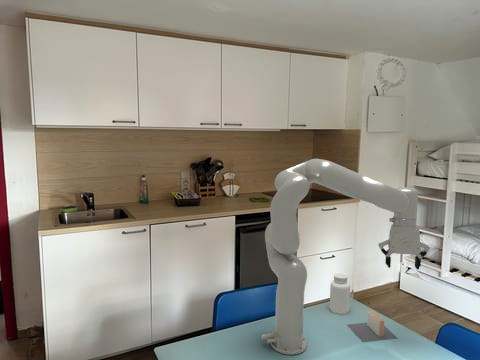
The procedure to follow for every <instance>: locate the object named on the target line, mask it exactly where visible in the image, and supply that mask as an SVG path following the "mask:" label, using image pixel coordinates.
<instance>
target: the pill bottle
mask: <svg viewBox="0 0 480 360" xmlns="http://www.w3.org/2000/svg"><path fill="white" fill-rule="evenodd" d="M333 276H334V277H333V280H332V281H331V282H330V285H329V287H330V288H329V289H330V291H329V310H330V311H331V312H333V313H334V314H338V315H346V314H348V313H349V312H350V304H351V303H350V302H351V285H350V282H348V275H347V274H344V273H335V274H334V275H333Z"/></svg>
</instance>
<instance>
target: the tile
mask: <svg viewBox="0 0 480 360" xmlns="http://www.w3.org/2000/svg"><path fill="white" fill-rule="evenodd" d="M366 323H367V326H369V327H370V328H371V329H372V330H373V331H374V332H375V333H376V334H377V335H378V336H379V337H383V334H384V326H385V320H384V319H383V318H382V317H381V316H379V315H378V313H376V312H375V311H374V310H368V311H367V322H366Z"/></svg>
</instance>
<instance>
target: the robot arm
mask: <svg viewBox="0 0 480 360" xmlns="http://www.w3.org/2000/svg"><path fill="white" fill-rule="evenodd" d="M313 183H314V184H317V185H320V186H322V187H325V188H327V189H330V190H332V191H335V192H337V193H340V194H342V195H345V196H347V197H350V198H352V199H356V200H358V201H362V202H366V203H369V204H372V205H374V206H376V207H377V208H380V209H382V210H385V211H389V212H391V213H393V216H392V217H389V220H388V221H389V223H390V222H391V225H390V230H389V235H388V239H386V240H384V241H381V242H379V243H378V244H377V245H378V247H379V249H380V252H381V253H382V254H383V255H385V265H386V266H387V268H388V269H391V266H392V265H391V264H392V263H391V262H392V257H391V256H392V254H398V255H415V257H414V268H415V269H416V270H418V271H419V270H420V267H421V266H422V265H421V264H422V259H423V257H425V256H426V255H427V254H428V252H429V251H430V249H431V247H430V246H429V245H427V244H426V243H424V242H422V241H421V236H420V235H421V234H420V232H421V231H420V226H418V225H417V220H418V219H417V217H418V198H419V197H418V196H419V191H418V190H417V188H415V187H410V186H409V187H408V186H401V187H397V188H396V187H393V186H390V185H387V184H386V183H382V182H380V181H378V180H375V179H373V178H370V177H368V176H366V175H363V174H361V173H358V172H356V171H354V170H351V169H349V168H347V167H345V166H342V165H339V164H338V163H335V162H333V161H330V160H326V159H323V158H322V159H321V158H313V159H309V160H306V161H304V162H302V163H299V164H297V165H293V166H291V167H288V168H287V169H284V170H282V171H280V172H279V173H278V174H277V176H276V177H275V179H274V187H275V189H276V190H277V191H276V193H275V194H274V195H273V198H272V200H271V202H270V208H269V209H270V212H269V213H270V223H269V224H268V225H267V226H266V228H265V230H264V231H265V232H264V238H265V241H264V242H265V246H266V247H265V248H266V254H267V259H268V265H269V268H270V269H271V271H272V272H273V273H274V275H276V277H277V281H278V282H277V287H276V290H275V317H274V318H275V320H274V322H275V323H274V325H275V326H274V329H272V332H270V333H262V334H261V335H260V336H261V340H262V341H266V344H270V346H271V347H272V349H273V350H274V351H276V352H278V353H280V354H284V355H293V356H294V355H299V354H301V353H304V352H305V351H306V349H307V348H308V341H307V340H306V338H305V337H304V336H303V335H304V334H303V333H304V312H305V311H304V310H305V307H304V306H305V289H306V285H307V280H308V271H307V267H306V265H305V264H304V262H303V261H302V260H301V259H299V257H298V256H296V254H295V253H296V252H298V250H299V248H300V242H301V241H300V240H301V239H300V233H299V226H298V220H297V219H298V217H297V209H298V206H299V204H300V202H301V201H303V200H304V199H305V197H306V196H307V195H308V193H309V191H310V185H311V184H313ZM387 245H388V246H387ZM385 246H387V247H388V249H385ZM421 248H423V249H422V250H421Z"/></svg>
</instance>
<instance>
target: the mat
mask: <svg viewBox="0 0 480 360" xmlns="http://www.w3.org/2000/svg"><path fill="white" fill-rule="evenodd" d="M367 323H368V322H359V323H352V324H350V323H349V324H346V326H347V327H348V328H349V329H350V331H351V332H353V334H354V335H355V336H356V337H357V338H358V339H359V340H360V341H361V342H362V343H370V342H378V341H387V340H388V341H389V340H396V339H399V337H397V335H395V334H394V333H393V332H392V331H391V330H390V329H388V327H386V326H385V325H384V334H383V337H379V336H378V335H377V334H376V333H375V332H374V331H373V330H372V329H371V328H370V327H369V326H367Z"/></svg>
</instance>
